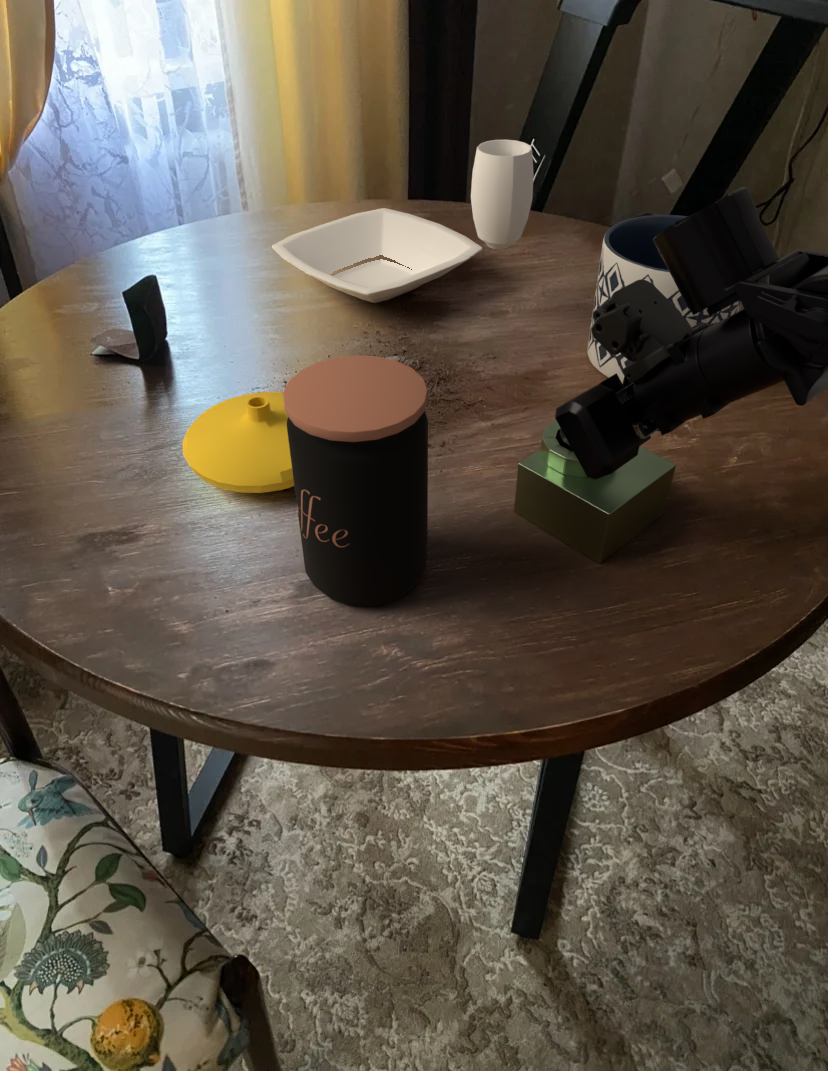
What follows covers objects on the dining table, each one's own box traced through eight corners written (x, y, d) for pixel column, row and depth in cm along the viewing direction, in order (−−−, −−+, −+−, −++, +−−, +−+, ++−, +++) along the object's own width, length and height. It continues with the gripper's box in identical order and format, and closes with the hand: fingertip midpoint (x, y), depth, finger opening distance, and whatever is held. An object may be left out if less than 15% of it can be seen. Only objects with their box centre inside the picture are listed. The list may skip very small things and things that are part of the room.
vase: (155, 485, 82) (139, 425, 78) (243, 405, 93) (233, 348, 88) (294, 528, 77) (286, 466, 73) (370, 438, 88) (367, 379, 83)
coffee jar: (292, 543, 76) (268, 368, 64) (404, 518, 78) (401, 344, 66) (322, 626, 68) (301, 444, 56) (445, 594, 71) (449, 414, 59)
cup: (511, 301, 112) (523, 135, 98) (530, 326, 106) (545, 154, 93) (459, 307, 110) (464, 140, 97) (475, 333, 105) (483, 160, 91)
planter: (622, 405, 93) (645, 281, 83) (565, 338, 104) (579, 223, 94) (750, 384, 96) (786, 262, 86) (680, 321, 107) (706, 208, 98)
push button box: (664, 513, 79) (680, 447, 74) (599, 564, 73) (612, 497, 69) (575, 465, 84) (585, 401, 79) (509, 509, 79) (515, 444, 74)
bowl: (261, 286, 116) (256, 245, 112) (388, 240, 128) (386, 202, 124) (365, 343, 103) (363, 300, 100) (495, 287, 115) (497, 246, 111)
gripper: (740, 228, 65) (604, 312, 78) (593, 305, 55) (466, 386, 69) (805, 355, 66) (659, 417, 79) (672, 452, 56) (531, 504, 70)
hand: (583, 427), depth 74 cm, fingers closed, pressing on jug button
